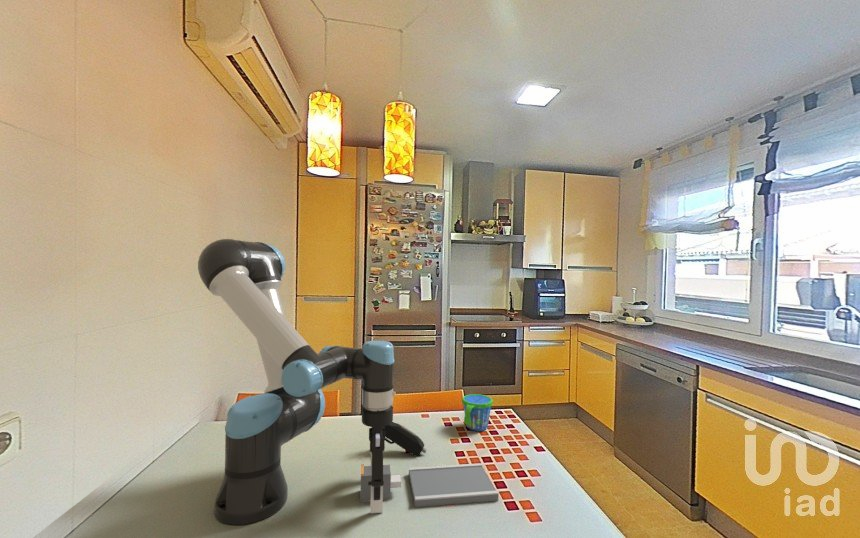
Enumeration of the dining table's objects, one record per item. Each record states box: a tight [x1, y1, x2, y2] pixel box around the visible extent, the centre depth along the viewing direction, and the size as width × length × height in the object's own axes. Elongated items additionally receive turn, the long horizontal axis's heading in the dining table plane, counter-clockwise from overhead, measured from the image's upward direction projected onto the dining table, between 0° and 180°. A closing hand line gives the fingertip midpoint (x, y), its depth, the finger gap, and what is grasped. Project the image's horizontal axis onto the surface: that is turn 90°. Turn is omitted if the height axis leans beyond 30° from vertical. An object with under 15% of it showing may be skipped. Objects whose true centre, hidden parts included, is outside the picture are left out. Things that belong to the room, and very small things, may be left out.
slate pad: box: [408, 463, 499, 508], centre depth 93 cm, size 20×14×2 cm
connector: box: [359, 463, 402, 503], centre depth 90 cm, size 10×4×6 cm, turn 99°
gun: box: [384, 421, 427, 457], centre depth 112 cm, size 3×16×10 cm, turn 79°
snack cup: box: [461, 393, 494, 432], centre depth 131 cm, size 16×10×10 cm
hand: (376, 494), depth 89 cm, fingers open, 13 cm apart
